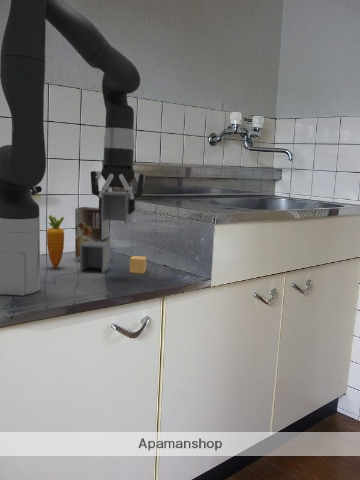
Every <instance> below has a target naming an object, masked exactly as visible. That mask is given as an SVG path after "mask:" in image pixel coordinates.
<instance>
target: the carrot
mask: <svg viewBox="0 0 360 480" xmlns="http://www.w3.org/2000/svg"><path fill="white" fill-rule="evenodd" d="M48 219H49V221H50V222H48V224H49V225H50V226H51V228H50V227H49V228H48V229H47V230H46V245H47V253H48V256H49V261H50V263H51V265H52V267H53V268H54V269H57V268H58V266H60V263H61V261H62V258H63V255H64V254H63V253H64V247H65V245H64V244H65V231H64V229H62V228H61V227H60V225H62V223H63V221H64V219H65V218H64V216H61V217H60V219H57V218H56V217H55V216H53V215H52V214H50V215H49V216H48Z"/></svg>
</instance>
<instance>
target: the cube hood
mask: <svg viewBox="0 0 360 480" xmlns="http://www.w3.org/2000/svg"><path fill="white" fill-rule="evenodd" d="M129 200H130V198H129V194H128V193H127V192H126V191H125V192H124V191H110V190H109V191H108V192H102V201H101V222H105V221H107V220H110V221H120V222H124V224H125V225H127V224H129V223H131V222H132V214H133V213H132V214H128V210H129Z"/></svg>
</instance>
